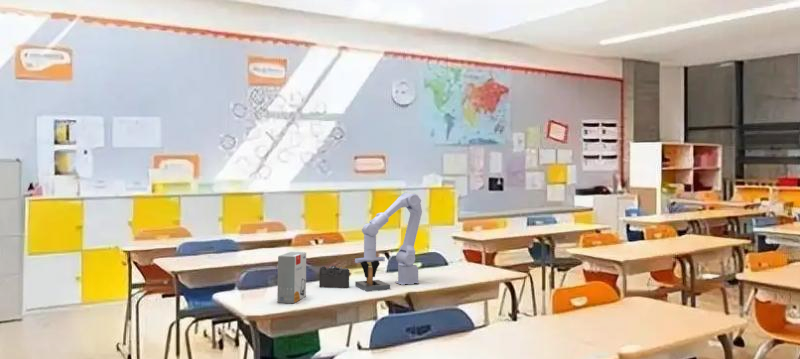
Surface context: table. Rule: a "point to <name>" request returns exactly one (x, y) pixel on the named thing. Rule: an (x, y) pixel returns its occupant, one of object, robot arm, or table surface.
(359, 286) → the keyhole plate
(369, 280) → the peg
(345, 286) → the camera
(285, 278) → the hard drive box
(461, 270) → the table surface
